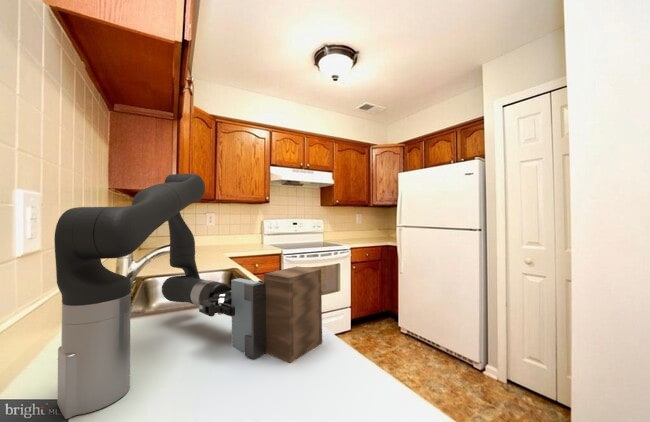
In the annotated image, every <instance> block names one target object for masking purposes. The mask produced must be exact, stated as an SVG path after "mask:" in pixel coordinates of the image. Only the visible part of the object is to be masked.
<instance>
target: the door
mask: <svg viewBox="0 0 650 422" xmlns="http://www.w3.org/2000/svg"><path fill="white" fill-rule="evenodd" d="M230 281H231V284H230V287H231V296H232V305H233V306H235V316H232V317H231V347H233V348H235V349H237V350H238V351H241V352H243V353H245V335H249V336H251V337H252V314H251V301H247V300H244V284H250V285H256V284H260V283H261V282H258V281H255V280H250V279H247V278H240V277H239V278H234V279H231V280H230Z"/></svg>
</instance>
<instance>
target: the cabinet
mask: <svg viewBox="0 0 650 422" xmlns="http://www.w3.org/2000/svg"><path fill="white" fill-rule="evenodd" d="M263 281H264V283H266V354H267V355H270V356H272V357H274V358H276V359H279V360H281V361H284V362H286V363H288V364H291V363H293V362H294V361H296V360H297V359H299V358H301V357H302V356H304V355H305V354H306V353H308V352H310V351H311V350H313V349H315V348H316V347H318V346H320V345H321V344H323V318H322V317H323V313H322V312H323V307H322V302H323V301H322V299H323V297H322V269H321V268H314V267H313V268H312V267H307V266H306V267H305V266H297V265H296V266H292V267H288V268H283V269H280V270H274V271H271V272H265V273H263Z"/></svg>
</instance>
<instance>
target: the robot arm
mask: <svg viewBox="0 0 650 422" xmlns="http://www.w3.org/2000/svg"><path fill="white" fill-rule="evenodd" d="M204 181H205V180H204V178H202V176H201V175H199V174H197V173H173V174H168V175H166V177H165V179H164V182H163V183H162V182H161V183H157V184H153V185H151V186H148V187H145V188H144V189H142V190H139V191H138V192H137V193H136V194H135V195H134V196H133V198H132V202H131V205H128V206H78V207H72V208H69V209H66V211H64V212H63V213H62V214H61V215H60V216H59V218H58V220H57V223H56V226H55V230H54V257H55V273H56V276H55V277H56V284H57V285H56V286H57V287H58V290H59V292H60V294H61V346H58V348H57V403H56V404H57V406H58V408H59V410H60V413H61V414H62V416H63V418H64V419H65V420H68V419H70V418H72V417H74V416H79V415H83V414H88V413H93V412H95V411H97V410H100V409H103V408H106V407H107V406H110V405H112V404H114V403H115V402H117V401H118V400H119V399H121V398H122V397H124V396H125V395H126V394H127V392H129V390H130V387H131V303H132V302H131V292H132V291H131V290H132V289H131V284H132V283H131V280H130V278H129V277H127V276H126V275H122V274H120V273H116V272H113V270H112V271H111V270H110V269H108V268H107V267H106V266H104V265H103V263H102V260H104V259H105V260H106V259H108V260H109V259H120V258H123V257H127V256H129V255H131V254H132V253H134V252H135V251H136V250H138V249H139V248H140V247H141V246H142V245H143V244H144V242H145V241H146V240H147V239H148V238H149V237H150V236H151V235H152V234H153V233H154V232H155V231H156V230H158V229H159V228H160V227H161V226H162V225H163V224H165V223H168V231H169V265H170V267H171V268H176V269H181V270H183V272H184V275H174V276H169V277H168V278H167V279H165V280H164V282H163V283H162V285H161V293H162V296H163V297H164V298H165V300H167V301H170V302H175V303H189V304H192V305H193V306H194V305H195V306H196V307H198V310H199V311H198V312H199V313H201V314H204V315H205V316H208V317H211V318H212V317H214V316H216V314H217V315H220V316H221V315H226V316H227V317H231V318H232V316H235V306H233V305H232V296H231V285H230V284H227V283H225V282H219V281H215V280H209V279H203V278H201V276H200V275H199V271H198V267H197V262H196V241H195V236H194V234H193V232H192V231H191V229H190V228H189V226H188V224H187V223H186V222H185V220H184V218H183V216H182V215H181V211H183V210H184V209H186V208H188V206H190V205H192V204H194V203H197V202H199V201H201V200H202V199H203V197H204V195H205V191H206V184H205V182H204Z"/></svg>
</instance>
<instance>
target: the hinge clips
mask: <svg viewBox="0 0 650 422" xmlns="http://www.w3.org/2000/svg"><path fill="white" fill-rule="evenodd" d="M257 282H261V283H260V284H256V285H250V284H244V300H247V301H251V314H252V337H251V336H249V335H245V352H244V356H245V357H247V359H250V360H252V361H254V360H257V359H259V358H260V357H262V356H264V355H265V354H267V353H266V283H264V280H258V281H257Z"/></svg>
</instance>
